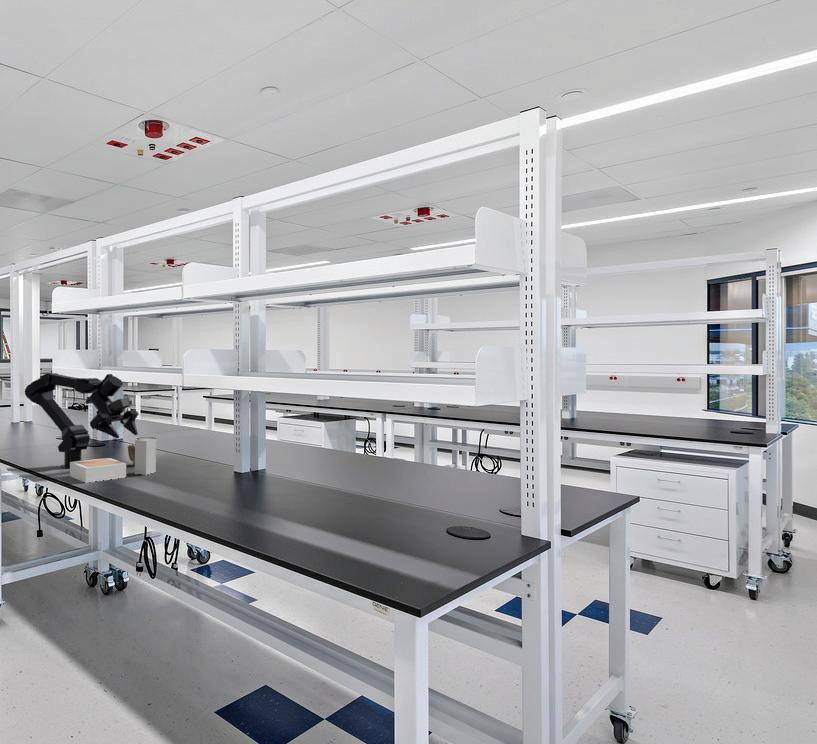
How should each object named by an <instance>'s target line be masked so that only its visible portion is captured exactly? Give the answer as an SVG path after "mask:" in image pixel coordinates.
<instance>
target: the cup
mask: <svg viewBox="0 0 817 744" xmlns="http://www.w3.org/2000/svg"><path fill="white" fill-rule="evenodd" d="M127 453H128V459H129V461H131V462H132V465H133V466H134V467H135V444H129V445H127Z"/></svg>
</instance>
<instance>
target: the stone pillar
mask: <svg viewBox="0 0 817 744" xmlns="http://www.w3.org/2000/svg"><path fill="white" fill-rule="evenodd" d="M134 446H135V466H134V475H137V474H142V475H141V476H148V475H147V474H149V475H151V474H150V473H153V474H155V473H154V472H156V473H157V466H156V465H157V439H156V438H140V439H135V440H134Z"/></svg>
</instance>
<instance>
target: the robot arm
mask: <svg viewBox="0 0 817 744" xmlns="http://www.w3.org/2000/svg"><path fill="white" fill-rule="evenodd" d="M100 380H101V379H99V378H97V377H93V378H92V377H91V378H90V377H89V378H87V377H86V378H85V377H84V378H79V377H73V376H69V375H63V374H59V373H55V372H52V373H50V372H49V373H48V372H47V373H44V374H43V375H42V376H41V377H39V378H37V379H36V380H34V381H32V382H31V383H29V384H27V385H26V387H25V389H24V395H25V397H26V398H27V399H28V400H29V401H30V402H32V403H34V404H36V405H38V406H40V407H41V408H42V410H43V411H44V412H45V413H46V415H47V416H48V417H49V418H50V419H51V421H52V422H53V424H54V425H55V426H56V427H57V428H58V429H59V431H60V432H61V440H62V441H61V442H60V443H59V445H58V446H57V449H58V452H59V453H64V454H63V456H64V458H63V459H64V464H60V467H62V468H65V469H70V462H75V461H83V460H82V459H83V458H82V456H83V455H82V451H83V450H84V451H85V450H87V449H88V445H89V443H90V440H91V437H90V434H89V432H90V431H88V430H87V429H86V428H85V426H84V425H83V424H74V423H73V421H72V420H71V418H70V417H69V416H68V414H66V413H65V411H64V410H63V409H62V408H61V407H60V405H59V404H58V403H57V402H56V400H55V399H54V390H56V387H57V386H60V387H64V388H65V387H66V388H70V389H74V391H76V392H78V393H80V394H83V395H86V394H91V395H88V396H86V400H85V404H87V405H89V404H92V405H93V406H94V407H95V409H96V412H95V413H96V415H94V417H93V418H92V419H91V420H90V422H89V426H90V427H91V429H92V430H96V431H100V432H102V433H103V434H104V433H105V434H107V435H109V436H111V437H113V438H115V439H119V438H120V435H119V433H118V431H117V430H116V428H115V426H113V423H115V422H120V423H121V424H122V427H123V428H125V429H126V430H128V431H129V432H130V433H131V434H133V435H134V436H138V434H139V433H138V429H137V425H136V419H137V418H138V416H139V415H140V414H139V413H138V411H137V410H136V409H131V410H130V409H129V410H125V409H127V408H130V407H131V405H133V401H132V399H131V398H130V397H129V396H127V397H124V398H118V399H117V400H115V401H114V400H113V401H112V399H111V397H114V396H115V395H116V394H117V393H118V391H119V390H120V389H122V387H123V385H124V382H123V381H122V380H121V379H120V378H118V377H117V376H114V375H113V373H107V374H106V375H105V377H104V378H103V379H102V380H101V381H100ZM122 413H123V414H122Z"/></svg>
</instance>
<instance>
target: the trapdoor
mask: <svg viewBox="0 0 817 744" xmlns="http://www.w3.org/2000/svg"><path fill="white" fill-rule="evenodd" d="M100 459H101V460H94V459H91V460H92V461H85V460H82V461H83V462H77V463H78V464H81V465H84V466H86V467H96V466H104V465H113V464H120V463H117V462H114V461H111V460H108V459H103V458H100Z"/></svg>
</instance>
